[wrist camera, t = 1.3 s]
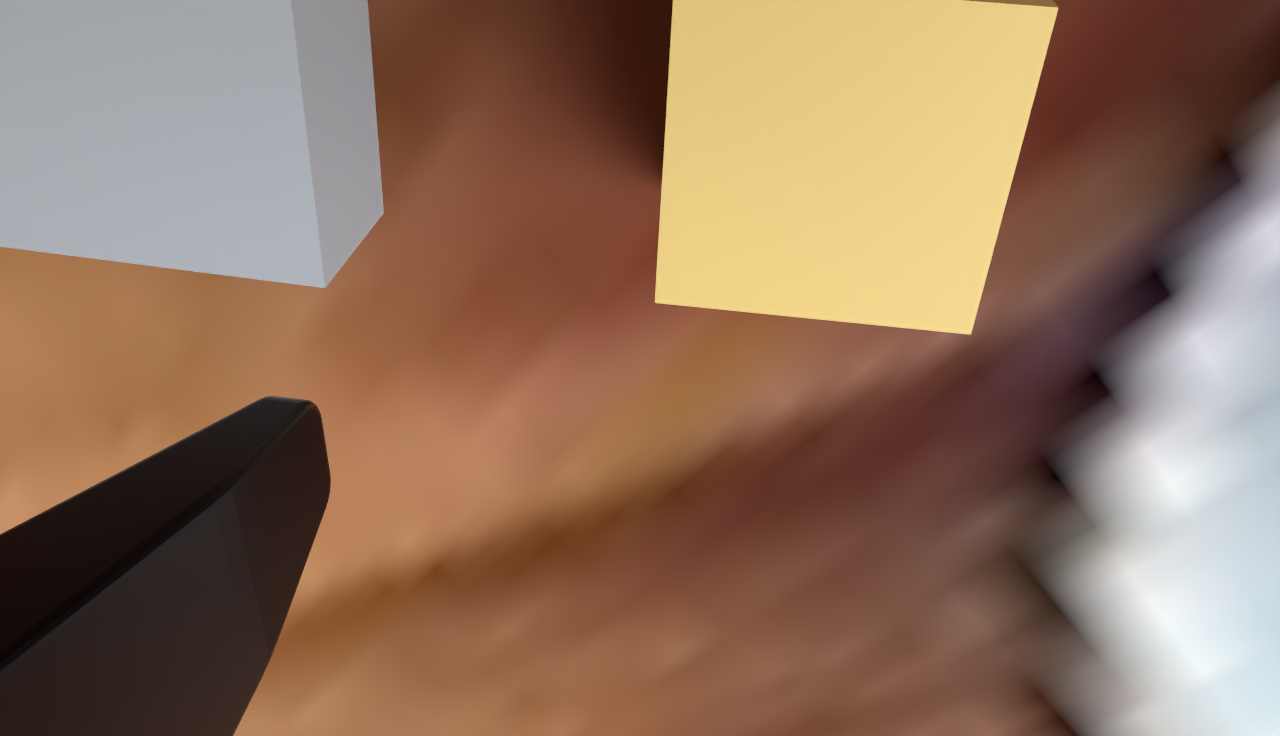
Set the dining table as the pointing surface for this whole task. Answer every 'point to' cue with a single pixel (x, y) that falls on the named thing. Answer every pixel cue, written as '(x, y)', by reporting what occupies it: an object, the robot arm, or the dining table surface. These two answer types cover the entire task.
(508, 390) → the dining table surface
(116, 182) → the base block
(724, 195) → the mustard block
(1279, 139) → the dining table surface
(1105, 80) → the dining table surface
